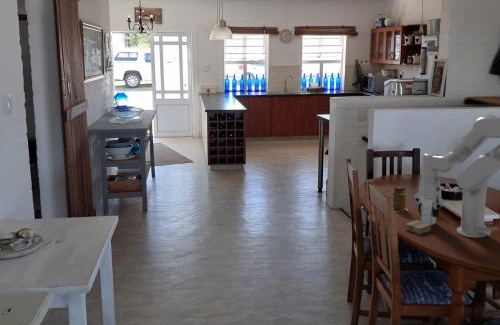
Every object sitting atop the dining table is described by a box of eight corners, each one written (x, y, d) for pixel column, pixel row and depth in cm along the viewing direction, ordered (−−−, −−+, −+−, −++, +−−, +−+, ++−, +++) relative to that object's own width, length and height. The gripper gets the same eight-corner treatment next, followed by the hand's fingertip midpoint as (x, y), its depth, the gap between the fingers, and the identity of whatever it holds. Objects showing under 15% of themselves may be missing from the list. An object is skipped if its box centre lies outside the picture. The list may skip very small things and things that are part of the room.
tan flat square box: (430, 230, 237) (430, 224, 236) (419, 234, 232) (419, 228, 232) (416, 226, 243) (416, 220, 242) (405, 229, 239) (405, 223, 238)
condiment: (408, 209, 267) (409, 187, 264) (397, 213, 262) (398, 190, 260) (397, 206, 273) (398, 184, 270) (386, 209, 268) (387, 187, 265)
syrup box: (424, 220, 250) (426, 192, 247) (436, 223, 246) (438, 194, 243) (419, 223, 246) (420, 194, 243) (430, 226, 242) (432, 197, 239)
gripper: (451, 181, 236) (448, 217, 240) (420, 174, 250) (418, 208, 254) (440, 184, 232) (438, 220, 236) (409, 176, 246) (408, 211, 250)
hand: (428, 214), depth 245 cm, fingers open, 7 cm apart
